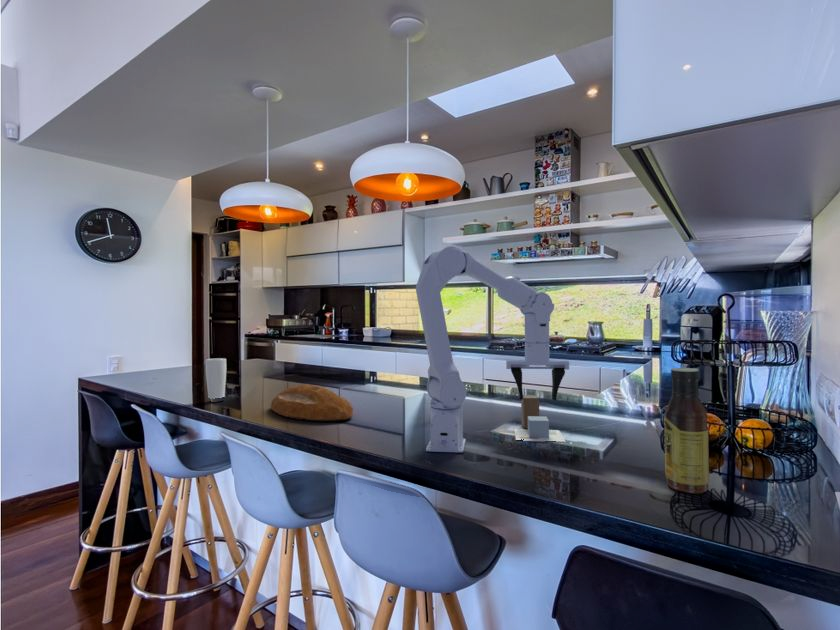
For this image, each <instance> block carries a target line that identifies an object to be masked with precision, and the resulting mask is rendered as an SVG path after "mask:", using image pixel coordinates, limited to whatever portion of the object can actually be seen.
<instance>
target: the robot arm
mask: <svg viewBox="0 0 840 630" xmlns="http://www.w3.org/2000/svg"><path fill="white" fill-rule="evenodd" d="M421 268H422V269H421V272H420V274H419V277H418V279H417V283H416V286H415V292H416V297H417V303H418V309H419V314H420V319H421V324H422V328H423V335H424V340H425V344H426V345H425V346H426V351H427V355H428V357H427V358H428V361H429V366H428V369H427V376H428V378H427V379H428V380H427V384H426V391H427V394H428V396H429V397H430V398H431V400H430V403H429V404H430V405H429V406H430V407H429V409H430V411H429V412H430V415H429V416H430V418H429V419H430V423H429V429H430V430H429V435H430V437H429V438H430V439H429V442H428V444H427V446H426V448H425V451H426V452H432V453H433V452H435V453H436V452H437V453H463V452H464V451H465V445H466V440H467V439H466V438H464V436H463V435H464V432H463V431H464V430H463V429H464V427H463V422H464V421H463V403H464V401H466V398H467V387H466V384H465V383H464V382H463V381H462V379H461V377H460V372H459V370H458V367H456V365H455V363H454V360H453V354H452V348H451V345H450V339H449V334H448V327H447V324H446V323H447V322H446V317H445V311H444V306H443V302H442V301H443V299H442V297H441V296H442V295H441V292H442V290H443V289H444V288H445V287H446V286H447V284H448V283H449V282H450V281H451V280H452V279H453V278H455V277H460V276H461V277H462V276H464V277H465V276H468V277H470V278H472V279H474V280H476V281H478V282H480V283H482V284H484V285H486V286H488V287H490V288H492V289H494V290H495V291H496V293H497V296H498V298H499V299H501V300H503V301H505V302H507V303H508V304H510V305H512V306H514V307H516V308H517V309H519V310H520V312H521V314H522V315H523V316H524V359H513V360H512V359H511V360H509V359H508V360H506V362H505V364H506V370H510V371H511V375H512V376H513V378H514V381H515V384H516V387H517V389H518V390H517V391H518V396H519V400H520V401H521V400H523V395H524V394H523V393H524V392H523V370H525V369H527V370H551V379H552V384H551V386H552V387H551V391H552V392H551V399H552V400H553V401H557V397H558V396H557V395H558V391H559V388H560V385H561V382H562V380H563V378H564V376H565V373H566V370H570V361H569V360H560V359H559V360H557V359H556V360H554V359H550V321H551V315H552V313H553V312H554V308H555V303H553V299H552V298H551V296H550V295H549V294H548V293H545V292H543V291H542V292H538V291H537V288H536V287H534V286H529V285H527V284H526V283H524V282H522V281H521V277H519V276H517V275H515V276H511V275H510V276H507V277H503V276H502V275H501V274H499V273H498V272H496V271H494V270H493V269H491V268H490V267H489V266H487V265H486V264H484V263H483V262H481V261H479V260H477V258H474V257H473V256H472V255H471V254H470V253H469V252H467V251H464V250H463V251H462V250H461V248H459V247H457V246H453V245H450V246H446V247H444V248H443V249H441V250H438V251H434V252H432V253H430V255H428V257H426V259H425V260H424V261H423V262H422V267H421Z"/></svg>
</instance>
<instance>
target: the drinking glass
mask: <svg viewBox="0 0 840 630" xmlns="http://www.w3.org/2000/svg"><path fill="white" fill-rule="evenodd" d="M204 365H205V366H204V367H205V368H204V369H205V370H204V371H205V379H206V388H207V398H210V399H212V398H213V399H215V398H222V397H225V398H226V383H227V358H225V357H223V358H222V357H218V358H217V357H216V358H206V359H205V364H204Z"/></svg>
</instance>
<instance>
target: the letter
mask: <svg viewBox="0 0 840 630" xmlns="http://www.w3.org/2000/svg"><path fill="white" fill-rule="evenodd" d="M513 430H514V436H515V441H516V440H521V439H522V440H523V439H524V440H523V441H522V442H545V441H556V442H555V443H566V440H565V438H564V436H563V435H562V433H561V431H560V430H558V429H549V438H533V437H529V434H528V429H524V428H523V429H522V428H521V429H520V428H519V429H518V428H517V429H516V428H515V429H513Z"/></svg>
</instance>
